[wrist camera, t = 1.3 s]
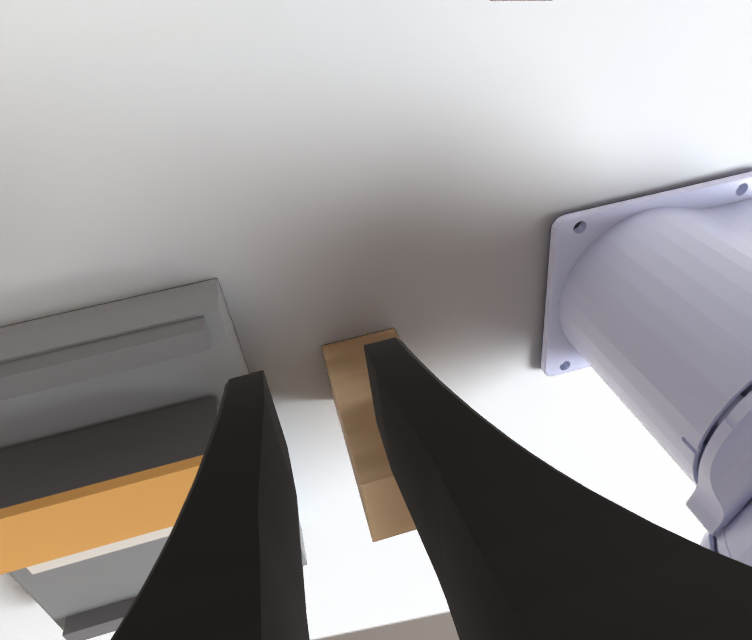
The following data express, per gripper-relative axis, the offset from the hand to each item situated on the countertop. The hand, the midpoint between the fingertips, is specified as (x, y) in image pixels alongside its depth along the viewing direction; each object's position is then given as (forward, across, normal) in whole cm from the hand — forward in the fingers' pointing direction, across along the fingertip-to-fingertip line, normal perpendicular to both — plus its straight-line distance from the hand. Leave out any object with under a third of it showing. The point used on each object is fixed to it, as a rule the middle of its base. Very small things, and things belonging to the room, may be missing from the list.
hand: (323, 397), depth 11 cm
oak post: (+10, -2, +8) cm, 13 cm away
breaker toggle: (+8, +8, +7) cm, 13 cm away
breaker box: (+10, +8, +10) cm, 16 cm away
